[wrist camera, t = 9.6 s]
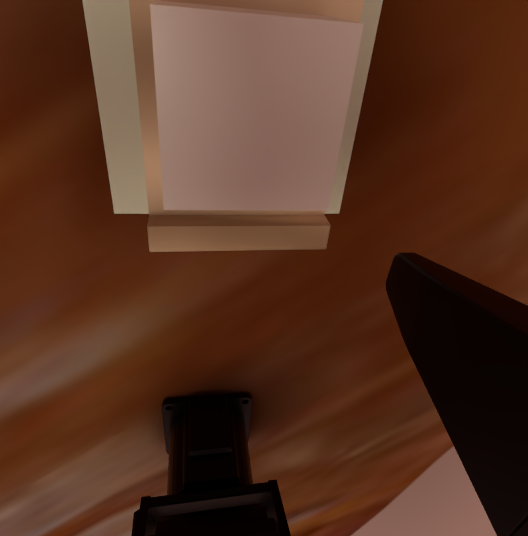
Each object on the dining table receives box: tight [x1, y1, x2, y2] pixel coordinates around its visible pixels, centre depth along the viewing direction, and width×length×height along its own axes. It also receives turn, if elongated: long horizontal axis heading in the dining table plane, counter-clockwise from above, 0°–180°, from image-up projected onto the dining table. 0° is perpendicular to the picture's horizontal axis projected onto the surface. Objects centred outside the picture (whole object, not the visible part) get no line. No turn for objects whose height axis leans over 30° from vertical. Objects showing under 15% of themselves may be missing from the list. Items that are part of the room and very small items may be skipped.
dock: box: [82, 0, 383, 214], centre depth 16 cm, size 11×10×3 cm
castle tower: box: [129, 0, 364, 252], centre depth 13 cm, size 10×6×4 cm, turn 175°
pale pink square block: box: [150, 0, 364, 210], centre depth 11 cm, size 5×5×3 cm
